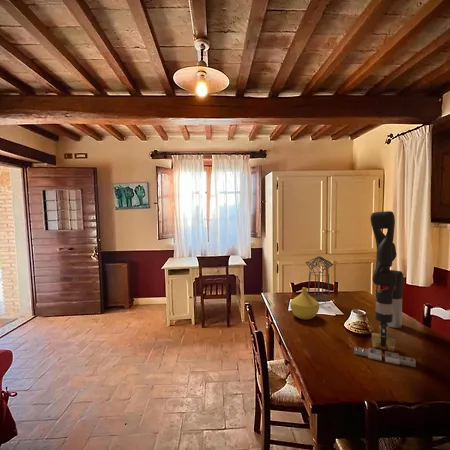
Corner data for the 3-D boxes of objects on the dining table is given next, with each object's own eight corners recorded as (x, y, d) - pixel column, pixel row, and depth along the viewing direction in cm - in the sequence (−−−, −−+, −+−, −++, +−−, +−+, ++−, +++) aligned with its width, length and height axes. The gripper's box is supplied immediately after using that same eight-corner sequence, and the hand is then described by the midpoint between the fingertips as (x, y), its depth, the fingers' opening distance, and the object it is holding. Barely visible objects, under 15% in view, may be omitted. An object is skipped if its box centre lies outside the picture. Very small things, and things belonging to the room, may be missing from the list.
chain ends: (354, 349, 142) (354, 344, 141) (414, 362, 129) (414, 356, 129) (353, 354, 137) (353, 349, 137) (415, 368, 125) (416, 362, 124)
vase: (315, 312, 194) (315, 284, 193) (322, 322, 175) (322, 292, 174) (288, 311, 195) (288, 284, 194) (292, 321, 177) (292, 291, 176)
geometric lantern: (303, 300, 218) (304, 255, 216) (321, 298, 223) (321, 254, 221) (316, 307, 203) (316, 258, 201) (334, 304, 208) (335, 257, 206)
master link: (371, 344, 146) (371, 332, 146) (395, 349, 141) (395, 336, 141) (371, 347, 144) (371, 334, 144) (395, 352, 139) (395, 339, 138)
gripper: (375, 305, 150) (375, 336, 151) (375, 314, 137) (374, 348, 138) (392, 307, 146) (391, 339, 147) (393, 317, 133) (392, 352, 134)
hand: (383, 343), depth 143 cm, fingers open, 5 cm apart
